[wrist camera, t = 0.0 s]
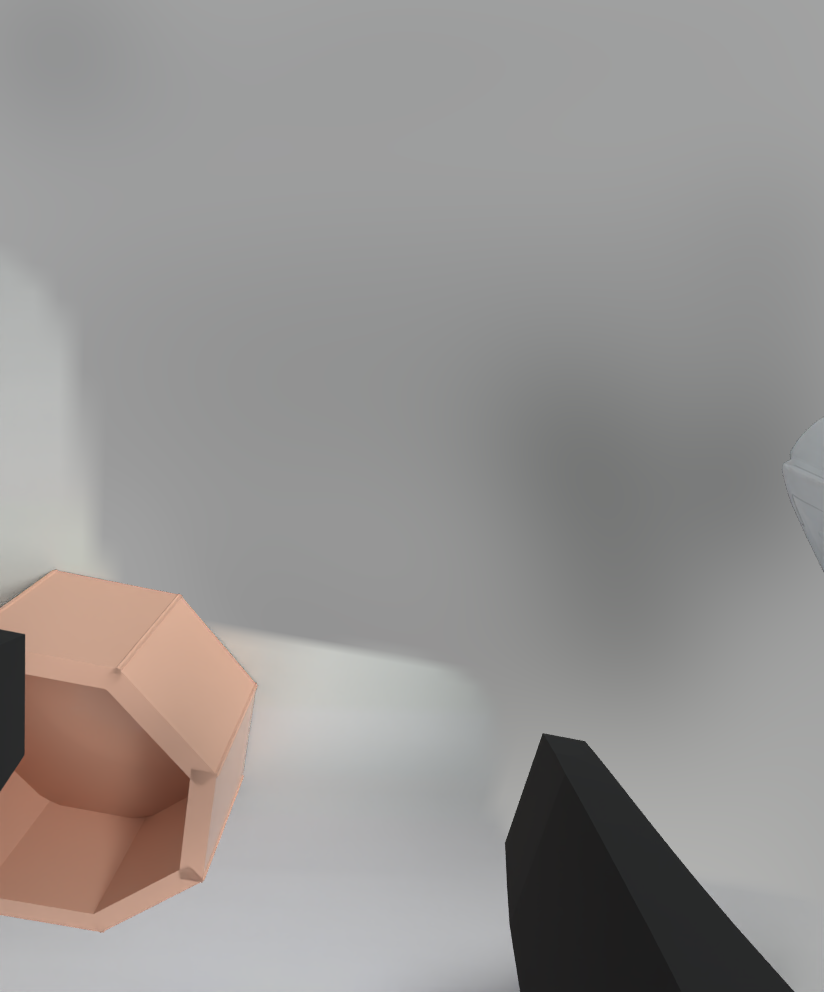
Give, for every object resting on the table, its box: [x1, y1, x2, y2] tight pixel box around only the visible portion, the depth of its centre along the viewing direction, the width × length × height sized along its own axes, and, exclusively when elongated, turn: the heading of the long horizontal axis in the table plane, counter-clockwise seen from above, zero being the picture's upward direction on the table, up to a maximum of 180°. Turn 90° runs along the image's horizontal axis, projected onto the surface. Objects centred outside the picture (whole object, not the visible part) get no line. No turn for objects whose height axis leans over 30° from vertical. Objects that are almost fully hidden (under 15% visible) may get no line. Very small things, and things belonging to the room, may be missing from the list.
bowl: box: [0, 569, 257, 933], centre depth 18 cm, size 10×10×4 cm
